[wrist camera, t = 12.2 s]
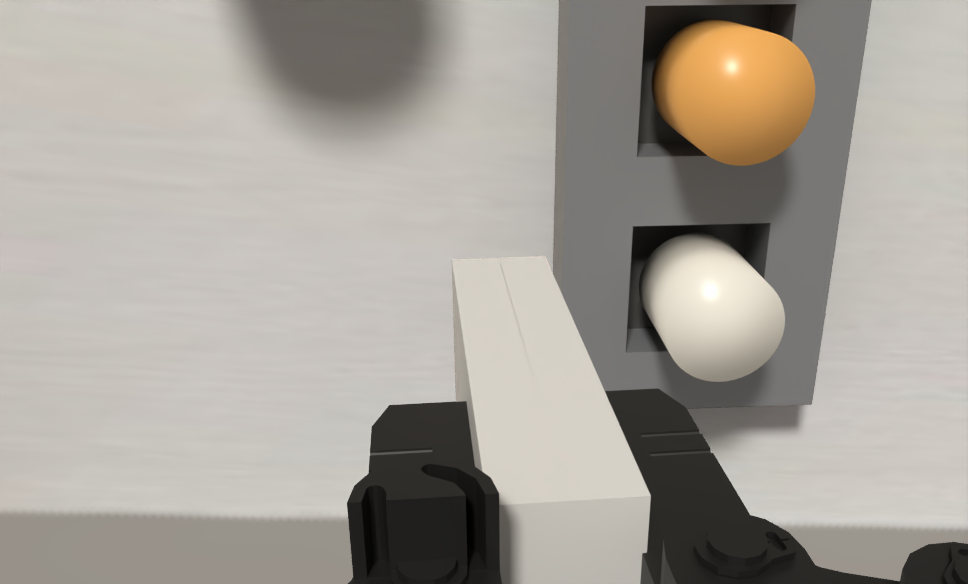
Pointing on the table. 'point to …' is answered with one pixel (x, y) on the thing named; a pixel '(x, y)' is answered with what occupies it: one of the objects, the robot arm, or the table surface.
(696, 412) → the table surface
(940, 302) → the table surface
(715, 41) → the key orange
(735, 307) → the key ivory
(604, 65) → the panel
